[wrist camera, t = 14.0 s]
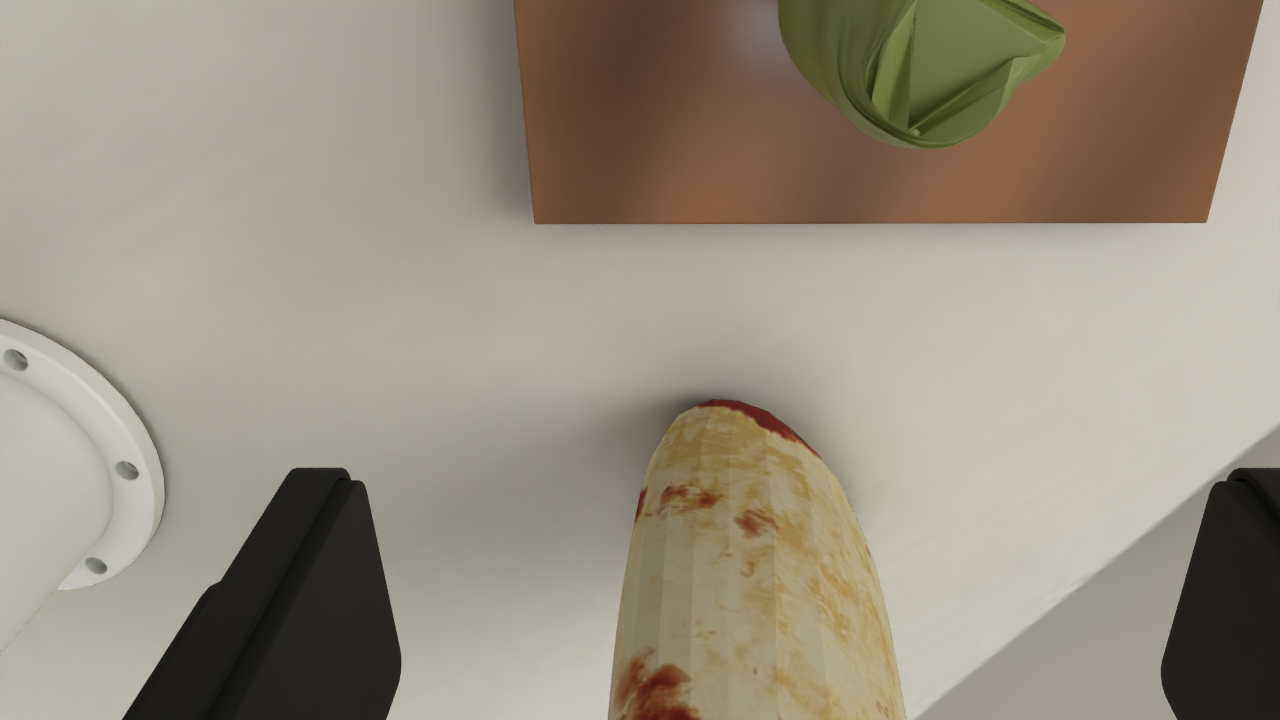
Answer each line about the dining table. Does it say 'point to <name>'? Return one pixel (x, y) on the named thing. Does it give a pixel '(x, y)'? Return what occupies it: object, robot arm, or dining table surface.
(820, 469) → the food model
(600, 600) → the dining table surface
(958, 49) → the pear
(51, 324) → the dining table surface
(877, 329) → the dining table surface
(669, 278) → the dining table surface
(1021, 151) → the cutting board
